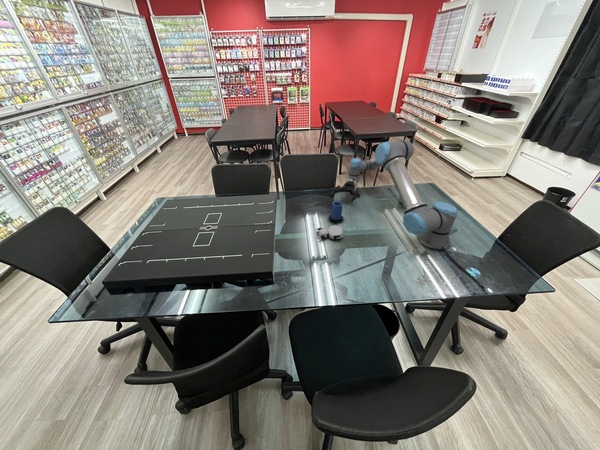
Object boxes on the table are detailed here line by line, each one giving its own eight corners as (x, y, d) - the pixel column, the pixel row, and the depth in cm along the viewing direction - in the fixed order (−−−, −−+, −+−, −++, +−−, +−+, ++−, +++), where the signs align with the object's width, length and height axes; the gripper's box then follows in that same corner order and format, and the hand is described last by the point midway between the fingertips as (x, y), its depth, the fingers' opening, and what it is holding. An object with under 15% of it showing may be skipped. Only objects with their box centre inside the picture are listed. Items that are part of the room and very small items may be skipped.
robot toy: (318, 244, 139) (344, 241, 139) (317, 238, 136) (344, 235, 136) (315, 231, 149) (340, 229, 149) (315, 225, 146) (340, 222, 147)
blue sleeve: (341, 220, 155) (342, 206, 149) (331, 219, 155) (332, 205, 149) (340, 215, 160) (342, 201, 154) (331, 214, 160) (332, 200, 155)
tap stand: (343, 224, 154) (344, 210, 149) (328, 223, 155) (329, 209, 150) (342, 216, 162) (344, 203, 156) (329, 215, 162) (329, 202, 157)
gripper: (367, 193, 172) (360, 207, 156) (332, 187, 181) (322, 199, 165) (368, 183, 168) (361, 196, 152) (333, 177, 177) (323, 189, 161)
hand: (341, 198), depth 158 cm, fingers open, 13 cm apart
